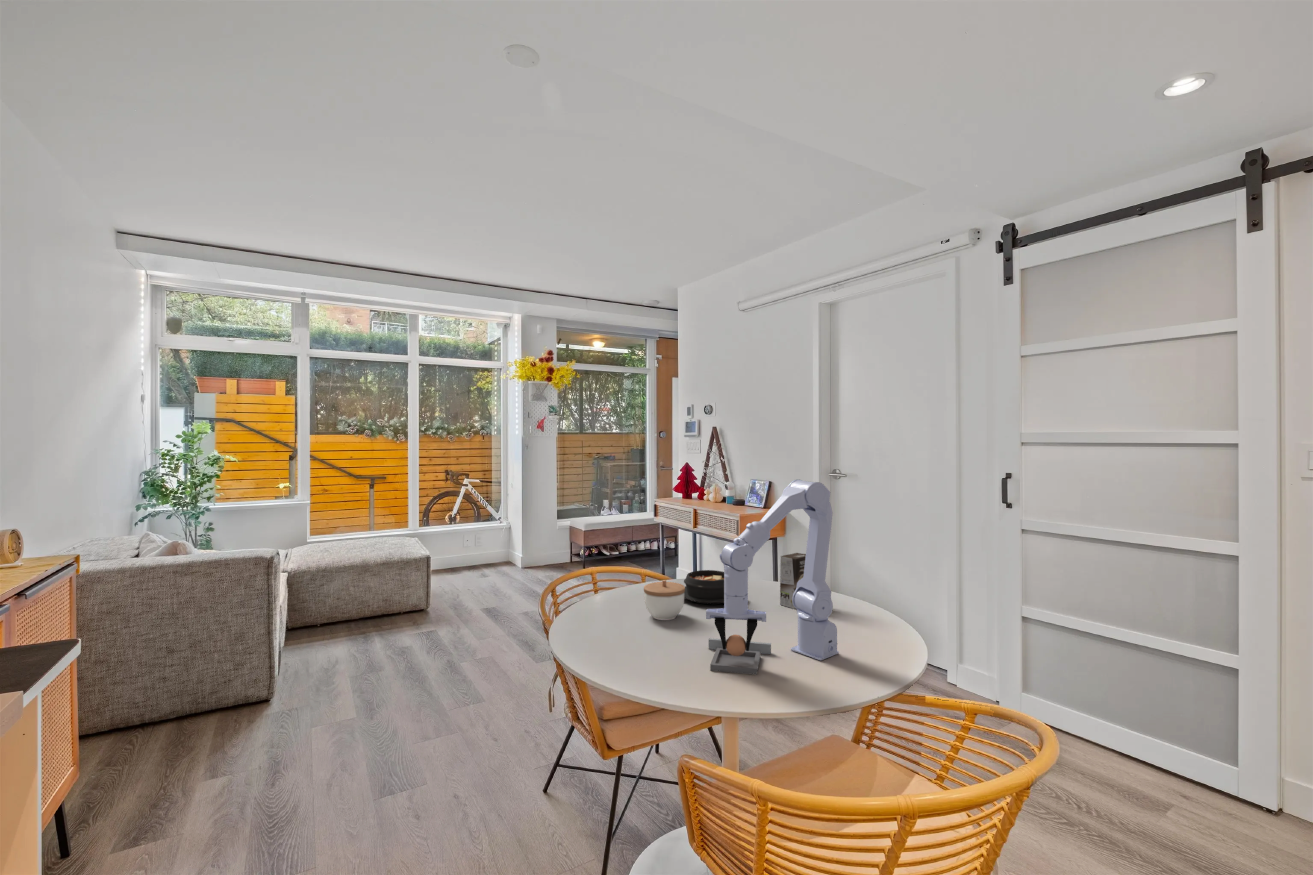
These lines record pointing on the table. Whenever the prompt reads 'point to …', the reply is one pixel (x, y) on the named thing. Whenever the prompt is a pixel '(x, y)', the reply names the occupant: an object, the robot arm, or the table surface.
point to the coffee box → (790, 576)
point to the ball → (736, 645)
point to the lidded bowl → (664, 599)
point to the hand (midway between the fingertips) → (735, 648)
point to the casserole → (705, 586)
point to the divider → (754, 646)
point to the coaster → (735, 662)
